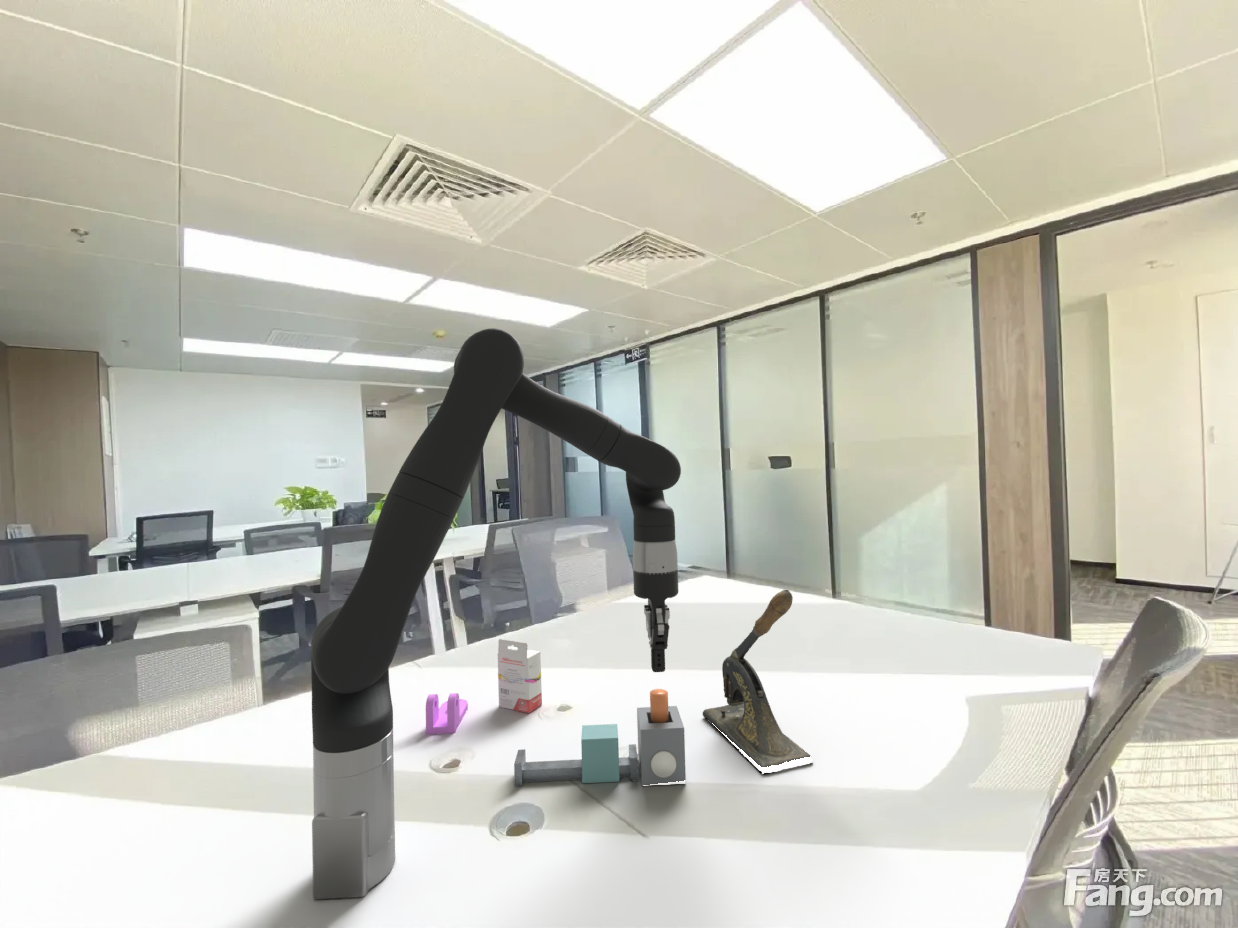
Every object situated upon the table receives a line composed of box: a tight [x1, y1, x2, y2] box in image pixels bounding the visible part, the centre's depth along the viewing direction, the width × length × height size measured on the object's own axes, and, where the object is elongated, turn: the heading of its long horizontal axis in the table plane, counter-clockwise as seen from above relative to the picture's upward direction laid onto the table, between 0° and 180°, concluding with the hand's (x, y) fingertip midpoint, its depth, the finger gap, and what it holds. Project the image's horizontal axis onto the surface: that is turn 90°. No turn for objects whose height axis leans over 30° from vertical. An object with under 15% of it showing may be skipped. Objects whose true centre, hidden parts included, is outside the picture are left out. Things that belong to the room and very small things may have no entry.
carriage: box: [580, 723, 620, 784], centre depth 88 cm, size 5×6×7 cm
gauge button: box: [649, 688, 669, 723], centre depth 88 cm, size 3×3×4 cm
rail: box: [513, 743, 639, 787], centre depth 87 cm, size 4×20×4 cm, turn 92°
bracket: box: [425, 692, 469, 735], centre depth 110 cm, size 13×6×7 cm, turn 3°
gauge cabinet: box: [636, 705, 687, 786], centre depth 88 cm, size 8×7×9 cm
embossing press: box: [702, 589, 811, 767], centre depth 98 cm, size 11×24×30 cm, turn 15°
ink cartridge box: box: [497, 638, 543, 714], centre depth 115 cm, size 9×5×15 cm, turn 62°
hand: (658, 670), depth 88 cm, fingers closed
